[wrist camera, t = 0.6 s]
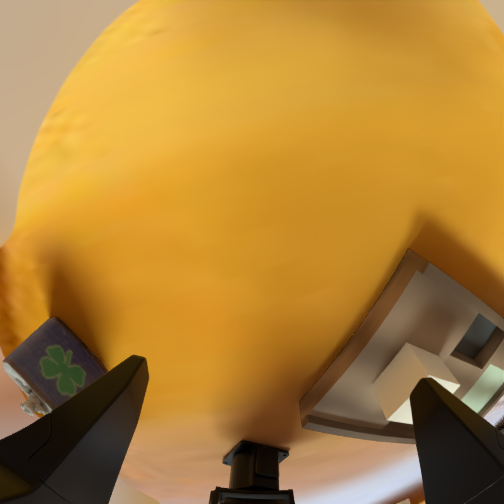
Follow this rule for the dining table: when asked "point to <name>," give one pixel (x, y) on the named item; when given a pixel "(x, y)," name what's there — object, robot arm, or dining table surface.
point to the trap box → (415, 333)
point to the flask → (52, 367)
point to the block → (409, 381)
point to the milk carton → (404, 502)
